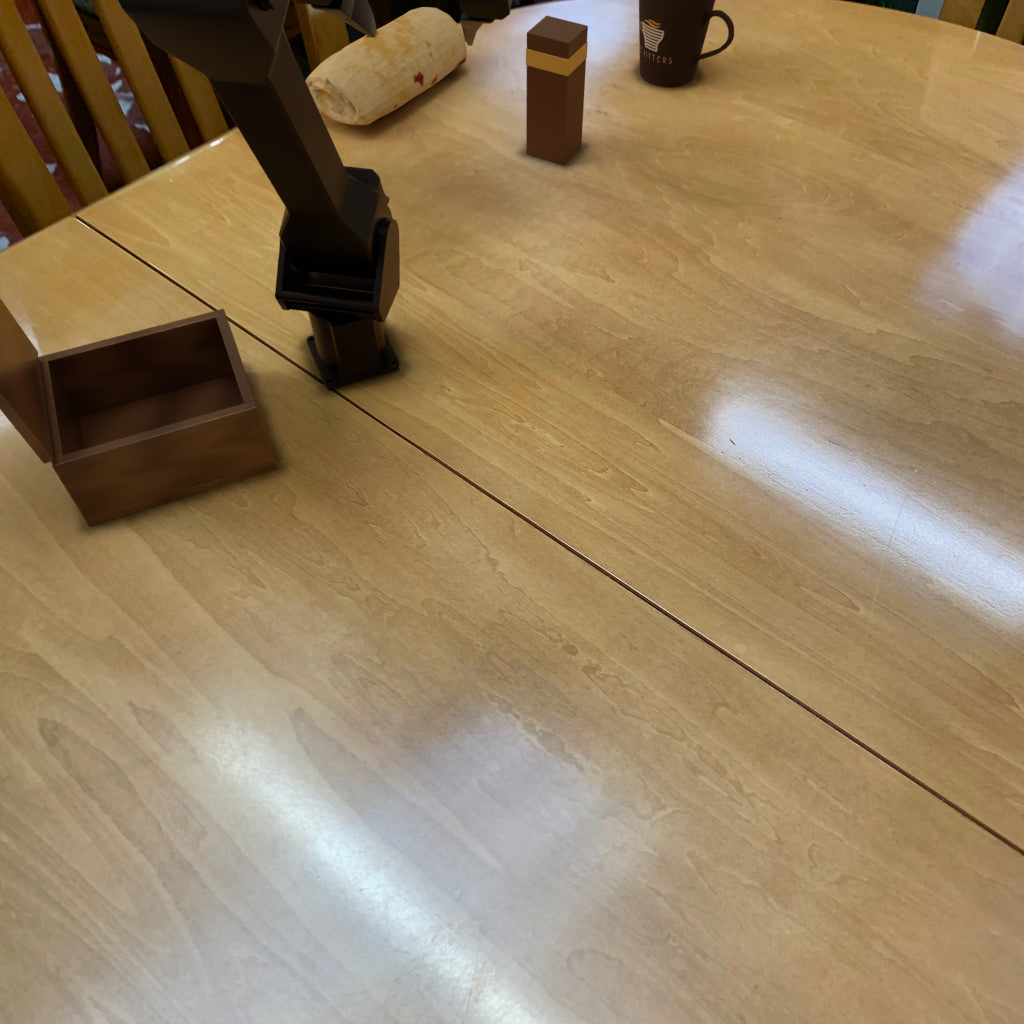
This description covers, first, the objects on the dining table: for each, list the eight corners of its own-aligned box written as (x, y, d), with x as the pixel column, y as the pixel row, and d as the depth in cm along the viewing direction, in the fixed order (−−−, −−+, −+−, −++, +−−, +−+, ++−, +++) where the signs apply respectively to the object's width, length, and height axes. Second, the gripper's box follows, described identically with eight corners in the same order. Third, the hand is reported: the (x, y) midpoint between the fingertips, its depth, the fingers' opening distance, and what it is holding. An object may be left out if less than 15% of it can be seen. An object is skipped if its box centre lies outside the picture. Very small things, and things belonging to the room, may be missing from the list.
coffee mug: (618, 61, 109) (626, -30, 101) (686, 49, 110) (699, -41, 102) (657, 110, 102) (669, 17, 94) (729, 98, 103) (746, 4, 95)
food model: (362, 150, 99) (474, 76, 109) (362, 93, 93) (481, 21, 103) (293, 108, 101) (410, 39, 111) (290, 50, 95) (413, -17, 106)
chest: (244, 371, 77) (223, 308, 72) (277, 469, 71) (257, 407, 65) (71, 419, 74) (35, 357, 69) (89, 526, 68) (51, 466, 62)
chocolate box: (564, 165, 96) (569, 43, 86) (525, 154, 97) (525, 32, 87) (582, 146, 98) (588, 25, 88) (543, 135, 99) (546, 14, 89)
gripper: (521, -189, 69) (536, -35, 85) (284, -202, 71) (340, -49, 87) (497, -57, 68) (516, 76, 83) (255, -74, 70) (318, 58, 85)
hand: (422, 36), depth 84 cm, fingers open, 9 cm apart
